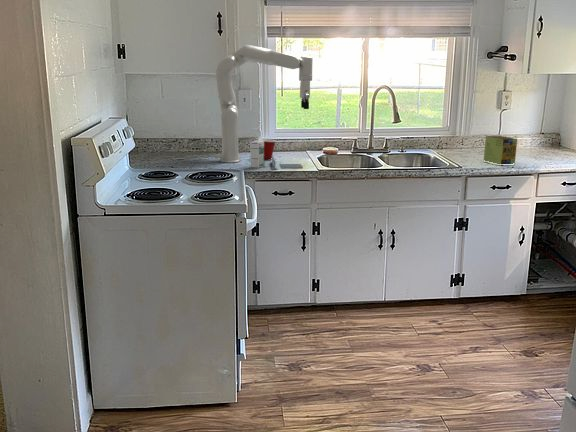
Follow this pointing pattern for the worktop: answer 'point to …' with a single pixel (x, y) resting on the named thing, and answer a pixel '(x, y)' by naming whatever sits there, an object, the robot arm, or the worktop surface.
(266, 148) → the plastic cup
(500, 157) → the protein box
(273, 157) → the acrylic divider
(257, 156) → the syrup box
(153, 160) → the worktop surface
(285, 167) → the slate mat
